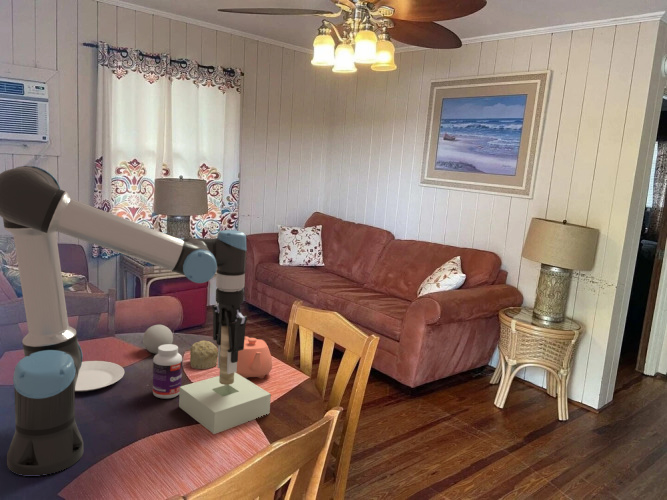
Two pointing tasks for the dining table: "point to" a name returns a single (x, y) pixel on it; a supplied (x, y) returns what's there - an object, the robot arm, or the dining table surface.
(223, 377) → the dowel
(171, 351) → the pill bottle
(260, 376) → the teapot
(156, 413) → the dining table surface
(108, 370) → the plate
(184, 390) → the bore block
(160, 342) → the ball
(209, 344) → the decorative object
